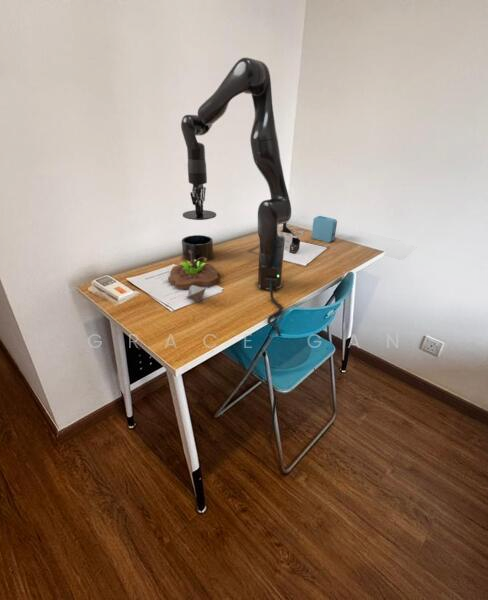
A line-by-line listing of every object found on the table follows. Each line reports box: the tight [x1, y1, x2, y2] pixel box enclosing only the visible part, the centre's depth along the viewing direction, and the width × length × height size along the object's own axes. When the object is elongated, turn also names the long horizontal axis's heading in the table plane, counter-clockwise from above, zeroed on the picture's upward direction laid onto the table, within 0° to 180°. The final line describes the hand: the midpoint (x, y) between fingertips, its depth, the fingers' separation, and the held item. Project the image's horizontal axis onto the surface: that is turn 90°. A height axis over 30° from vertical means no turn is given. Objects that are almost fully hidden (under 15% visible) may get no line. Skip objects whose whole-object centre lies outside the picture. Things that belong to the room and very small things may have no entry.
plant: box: [168, 250, 220, 290], centre depth 128 cm, size 20×20×11 cm
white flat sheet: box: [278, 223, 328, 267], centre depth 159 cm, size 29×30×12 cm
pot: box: [181, 234, 214, 263], centre depth 147 cm, size 14×14×8 cm
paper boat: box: [187, 285, 212, 303], centre depth 114 cm, size 12×6×9 cm
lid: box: [182, 202, 217, 221], centre depth 140 cm, size 15×15×6 cm
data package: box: [311, 215, 338, 244], centre depth 175 cm, size 12×4×12 cm, turn 51°
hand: (199, 213), depth 140 cm, fingers closed on lid, 2 cm apart
